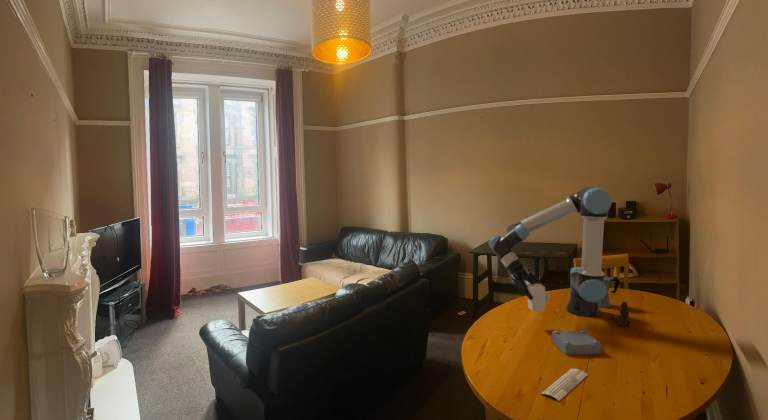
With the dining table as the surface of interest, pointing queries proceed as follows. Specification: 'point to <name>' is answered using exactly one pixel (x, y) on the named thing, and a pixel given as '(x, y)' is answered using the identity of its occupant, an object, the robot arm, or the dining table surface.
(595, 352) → the base plate
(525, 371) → the dining table surface
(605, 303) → the coffeepot
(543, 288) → the tower brick
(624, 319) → the dark figurine
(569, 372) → the newspaper
